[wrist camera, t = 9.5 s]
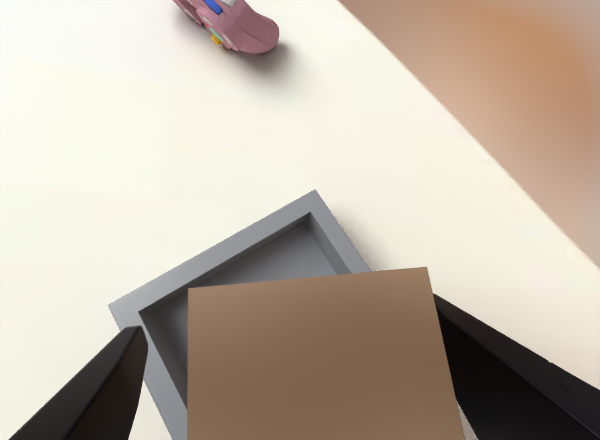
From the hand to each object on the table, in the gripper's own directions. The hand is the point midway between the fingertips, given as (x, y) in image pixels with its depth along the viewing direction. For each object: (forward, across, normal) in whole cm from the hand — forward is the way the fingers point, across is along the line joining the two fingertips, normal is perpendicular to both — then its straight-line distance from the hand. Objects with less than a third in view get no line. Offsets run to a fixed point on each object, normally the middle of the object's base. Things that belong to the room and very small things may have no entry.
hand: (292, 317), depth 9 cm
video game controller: (+23, +3, -9) cm, 25 cm away
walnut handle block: (+5, 0, +7) cm, 8 cm away
